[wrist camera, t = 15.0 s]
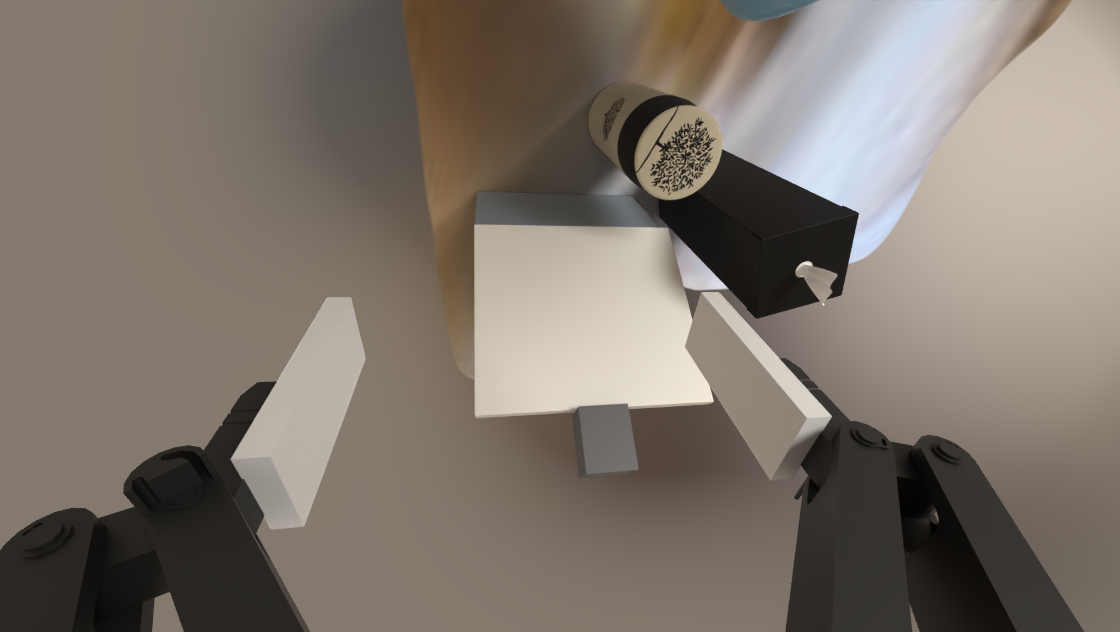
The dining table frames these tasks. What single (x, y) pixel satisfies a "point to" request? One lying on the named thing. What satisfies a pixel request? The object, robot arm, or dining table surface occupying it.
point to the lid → (582, 332)
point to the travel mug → (656, 138)
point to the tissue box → (765, 236)
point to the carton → (560, 210)
